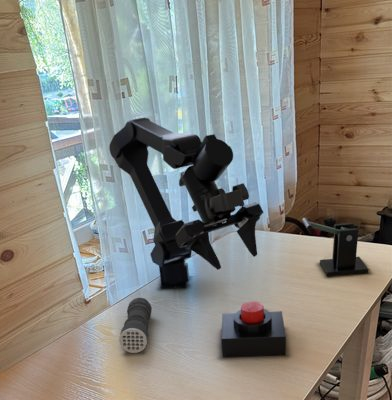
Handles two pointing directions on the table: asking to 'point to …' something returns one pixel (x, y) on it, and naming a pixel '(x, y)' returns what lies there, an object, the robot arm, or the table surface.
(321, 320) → the table surface
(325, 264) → the switch bracket
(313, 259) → the table surface
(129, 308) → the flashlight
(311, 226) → the switch lever
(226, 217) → the robot arm
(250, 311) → the stop button
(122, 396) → the table surface
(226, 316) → the stop box
